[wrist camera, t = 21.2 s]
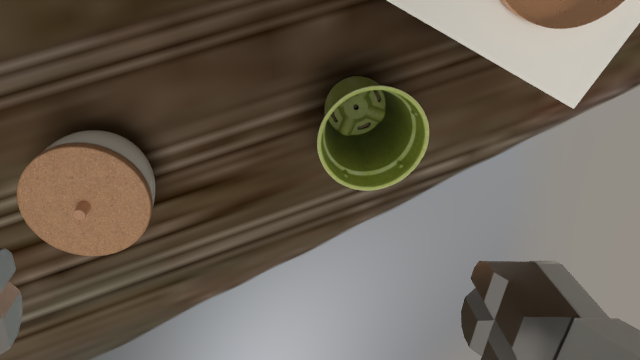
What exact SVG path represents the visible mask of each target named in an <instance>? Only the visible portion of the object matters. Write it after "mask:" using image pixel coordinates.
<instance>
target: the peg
mask: <svg viewBox="0 0 640 360" xmlns="http://www.w3.org/2000/svg"><path fill="white" fill-rule="evenodd" d="M624 1H625V0H500V2H501V3H502V4H503V5H504V6H505V7H506V8H507V9H508V10H509V11H510V12H512V13H513V14H514V15H516V16H517V17H519V18H521V19H523V20H526V21H528V22H531V23H534V24H536V25H539V26H543V27H546V28H553V29H567V28H575V27H579V26H582V25H586V24H588V23H591V22H593V21H596V20H598V19H599V18H601V17H603V16H605V15H607V14H608V13H610V12H611V11H612V10H614V9H615V8H617V7H618V6H619V5H620V4H621V3H623V2H624Z"/></svg>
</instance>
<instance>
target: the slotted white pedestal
mask: <svg viewBox="0 0 640 360" xmlns="http://www.w3.org/2000/svg"><path fill="white" fill-rule="evenodd" d="M387 1H388V2H390V3H392V4H394V5H395V6H397V7H399V8H400V9H402V10H404V11H406V12H407V13H409V14H411V15H413V16H414V17H416V18H418V19H419V20H421V21H423V22H425V23H426V24H428V25H430V26H432V27H433V28H435V29H437V30H438V31H440V32H442V33H444V34H445V35H447V36H449V37H450V38H452V39H454V40H456V41H457V42H459V43H461V44H463V45H464V46H466V47H468V48H469V49H471V50H473V51H475V52H476V53H478V54H480V55H482V56H483V57H485V58H487V59H488V60H490V61H492V62H494V63H495V64H497V65H499V66H501V67H502V68H504V69H506V70H507V71H509V72H511V73H513V74H514V75H516V76H518V77H519V78H521V79H523V80H525V81H526V82H528V83H530V84H532V85H533V86H535V87H537V88H538V89H540V90H542V91H544V92H545V93H547V94H549V95H551V96H552V97H554V98H556V99H557V100H559V101H561V102H563V103H564V104H566V105H568V106H569V107H571V108H573V109H574V108H575V107H576V105H577V104H578V103H579V101H580V100H581V99H582V97H583V96H584V95H585V94H586V92H587V91H588V90H589V88H590V87H591V86H592V84H593V83H594V82H595V80H596V79H597V78H598V76H599V75H600V74H601V73H602V71H603V70H604V69H605V67H606V66H607V65H608V63H609V62H610V61H611V59H612V58H613V57H614V55H615V54H616V53H617V52H618V50H619V49H620V48H621V46H622V45H623V44H624V42H625V41H626V40H627V38H628V37H629V36H630V34H631V33H632V32H633V31H634V29H635V28H636V27H637V25H638V24H639V23H640V0H625V1H624V2H623V3H621V4H620V5H619V6H618V7H617V8H615V9H614V10H612V11H611V12H610V13H608V14H607V15H605V16H603V17H601V18H599V19H598V20H596V21H593V22H591V23H588V24H586V25H582V26H579V27H575V28H567V29H553V28H546V27H543V26H539V25H536V24H534V23H531V22H528V21H526V20H523V19H521V18H519V17H517V16H516V15H514V14H513V13H512V12H510V11H509V10H508V9H507V8H506V7H505V6H504V5H503V4H502V3H501V2H500V0H387Z"/></svg>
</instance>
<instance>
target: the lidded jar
mask: <svg viewBox="0 0 640 360" xmlns="http://www.w3.org/2000/svg"><path fill="white" fill-rule="evenodd" d="M154 199H155V178H154V174H153V170H152V167H151V165H150V163H149V161H148V159H147V158H146V156H145V155H144V153H143V152H142V151H141V150H140V149H139V148H138V147H137V146H136V145H135V144H133V143H132V142H131V141H129V140H128V139H126V138H124V137H122V136H120V135H117V134H114V133H111V132H107V131H101V130H87V131H80V132H76V133H72V134H70V135H67V136H65V137H63V138H60V139H59V140H57V141H56V142H54V143H53V144H51V145H49V146H48V147H47V148H46V149H45V150H44V151H43V152H42V153H40V154H39V155H37V156H36V157H35V158H34V159H33V160H32V161H31V162H30V163H29V164H28V165H27V166H26V168H25V169H24V170H23V172H22V174H21V176H20V178H19V181H18V186H17V202H18V206H19V209H20V212H21V214H22V216H23V218H24V220H25V221H26V223H27V225H28V226H29V227H30V228H31V229H32V230H33V232H35V233H36V234H37V235H38V236H39V237H40V238H41V239H43V240H44V241H46V242H47V243H48V244H50V245H52V246H54V247H56V248H58V249H60V250H63V251H66V252H69V253H73V254H76V255H84V256H102V255H109V254H113V253H116V252H119V251H121V250H124V249H126V248H127V247H129V246H131V245H132V244H133V243H135V242H136V241H137V240H138V239H139V238H140V237H141V236H142V234H143V233H144V232H145V230H146V228H147V226H148V224H149V221H150V218H151V215H152V208H153V204H154Z"/></svg>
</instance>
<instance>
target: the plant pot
mask: <svg viewBox="0 0 640 360" xmlns="http://www.w3.org/2000/svg"><path fill="white" fill-rule="evenodd" d="M374 90H376V91H377V92H378V93H379V95H380V98H381V100H380V102H378V100H377V97H376V95H375V93H374ZM354 105H358V109H357V110H355V109H354ZM333 112H334V115H335V117H336V119H337V120H338V122H334V119H333V118H332V117H331V114H332V113H333ZM369 122H370V125H369V126H368V127H367V128H364V129H360V130H359V129H358V127H360V126H363V125H365V124H367V123H369ZM428 140H429V125H428V121H427V118H426V115H425V113H424V111H423V109H422V107H421V106H420V105H419V103H418V102H417V101H416V100H415V99H414V98H412V97H411V96H410V95H409V94H407V93H406V92H404V91H402V90H400V89H397V88H394V87H390V86H385V85H380V84H378V83H377V82H375V81H374V80H372V79H370V78H366V77H362V76H353V77H348V78H345V79H343V80H341V81H340V82H338V83H337V84H336V85H335V86H334V87H333V88H332V89H331V90H330V92H329V94H328V96H327V98H326V101H325V112H324V118H323V120H322V122H321V125H320V128H319V131H318V137H317V149H318V155H319V158H320V161H321V163H322V165H323V167H324V168H325V170H326V171H327V173H328V174H329V175H330V176H331V177H332V178H333V179H334V180H336V181H337V182H338V183H340V184H342V185H344V186H347V187H349V188H352V189H356V190H364V191H367V190H378V189H382V188H386V187H388V186H391V185H393V184H395V183H397V182H399V181H401V180H402V179H404V178H405V177H406V176H407V175H409V174H410V173H411V172H412V171H413V170H414V169H415V167H416V166H417V165H418V164H419V162H420V161H421V159H422V157H423V156H424V154H425V151H426V148H427V145H428Z"/></svg>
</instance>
